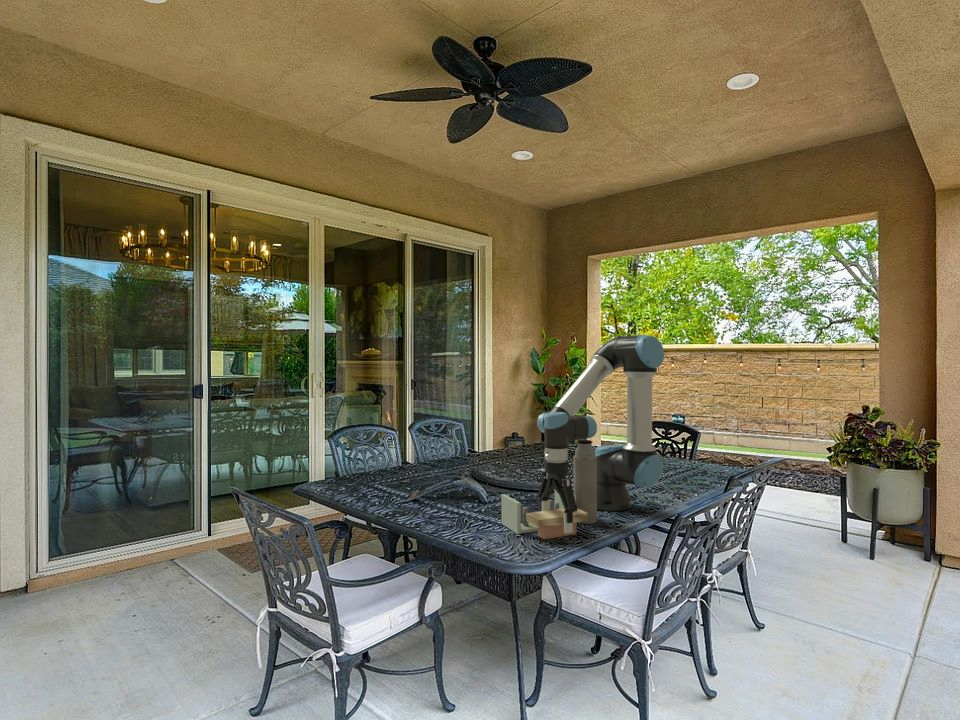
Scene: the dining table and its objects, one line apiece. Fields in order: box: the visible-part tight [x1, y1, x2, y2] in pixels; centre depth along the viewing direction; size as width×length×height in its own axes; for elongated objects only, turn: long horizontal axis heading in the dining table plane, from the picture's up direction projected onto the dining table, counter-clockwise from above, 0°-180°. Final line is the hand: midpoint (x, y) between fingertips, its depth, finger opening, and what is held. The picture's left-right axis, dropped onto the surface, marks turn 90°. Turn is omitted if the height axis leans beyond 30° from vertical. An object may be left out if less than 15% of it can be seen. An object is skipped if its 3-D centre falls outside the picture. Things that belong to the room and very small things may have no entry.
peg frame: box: [500, 490, 576, 535], centre depth 186 cm, size 22×12×10 cm, turn 113°
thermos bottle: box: [572, 439, 598, 525], centre depth 190 cm, size 8×8×28 cm
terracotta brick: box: [537, 522, 577, 540], centre depth 175 cm, size 12×4×4 cm, turn 113°
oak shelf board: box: [526, 507, 588, 528], centre depth 175 cm, size 18×8×2 cm, turn 113°
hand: (556, 526), depth 175 cm, fingers open, 13 cm apart
